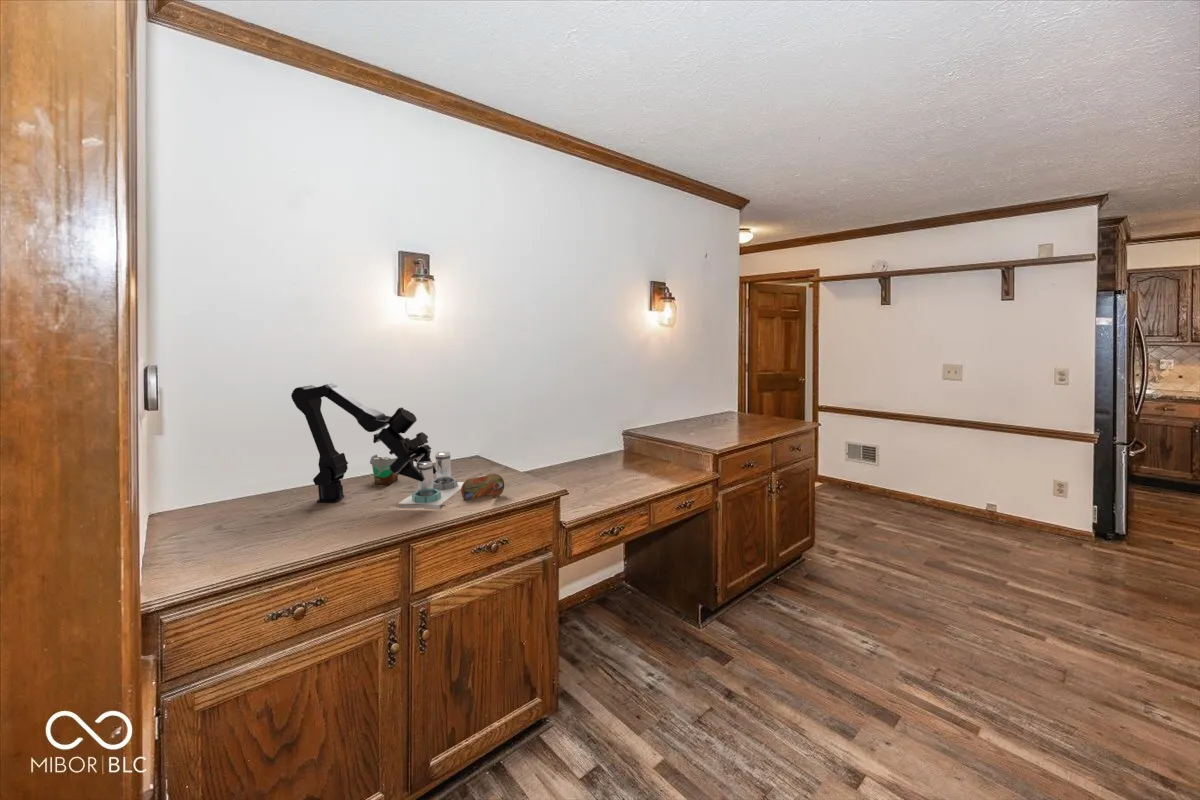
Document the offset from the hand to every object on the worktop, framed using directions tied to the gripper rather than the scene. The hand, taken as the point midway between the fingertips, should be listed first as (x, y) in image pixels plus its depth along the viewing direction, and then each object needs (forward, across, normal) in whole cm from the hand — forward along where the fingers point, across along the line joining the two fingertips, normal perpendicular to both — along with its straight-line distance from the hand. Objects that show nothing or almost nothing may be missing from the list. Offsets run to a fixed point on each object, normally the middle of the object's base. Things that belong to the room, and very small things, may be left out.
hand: (429, 476), depth 175 cm
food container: (-13, +19, +26) cm, 35 cm away
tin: (+18, +6, -5) cm, 19 cm away
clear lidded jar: (+4, +14, +6) cm, 16 cm away
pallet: (+5, +7, +7) cm, 12 cm away
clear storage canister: (+4, 0, +6) cm, 8 cm away
